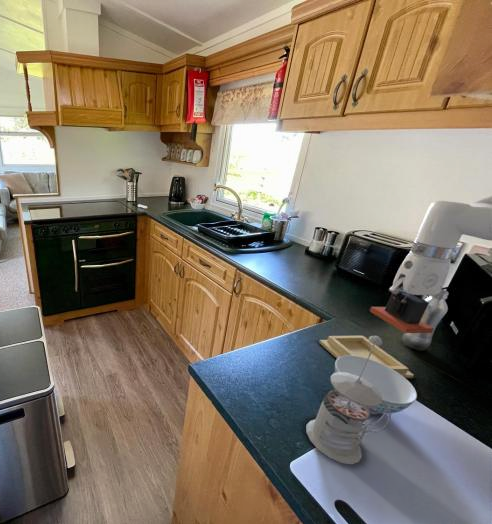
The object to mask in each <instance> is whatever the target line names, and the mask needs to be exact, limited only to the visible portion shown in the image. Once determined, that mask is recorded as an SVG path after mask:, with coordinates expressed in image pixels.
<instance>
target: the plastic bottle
mask: <svg viewBox="0 0 492 524" xmlns="http://www.w3.org/2000/svg"><path fill="white" fill-rule="evenodd" d="M448 296H449V292H448V290H444V289H443V288H442V289H441V291H440V293H438V294H436V295H431V296H430V297H428V298H427V299H426V300H425V301H427V302H429V304H428V306H427V308H426V310H425V312H424V314H423V316H422V318H421V320H420V321H421V322H423V323H425V324H427V325H429V326H431V327H432V328H434V329H433V331H432V333H404V332H403V335H402V339H401V340H402V343H403V344H404V345H405V346H406V347H408V348H411V349H413V350H415V351H421V352H422V351H425V350H427V349H429V348H430V347H431V344H432V340H433V339H432V338H433V337H434V334H435V331H436V328H437V326H438V325H439V323H440V322H441V321H442V319H443V318H444V317H445V315H446V314H447V312H448V310H449V308H448V304H447V302H446V300H447V299H448Z"/></svg>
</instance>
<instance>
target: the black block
mask: <svg viewBox="0 0 492 524" xmlns="http://www.w3.org/2000/svg"><path fill="white" fill-rule="evenodd" d="M402 294H403V296H404V295H405V293H403V292H402ZM393 297H394V296H393V294H392V293H391V294H390V297H389V299H388V301H387V304H386V306H370V309H369V312H370V313H371V314H373V315H375V316H377V317H378V318H380V319H381V320H383V321H384V322H386V323H387V324H389V325H391V326H393V327H395V328H396V329H398V330H399V331H401V332H402V333H403V334H404V333H432V331H433V329H434V328H432V327H431V326H429V325H427V324H425V323H423V322H421V321H420V320H421V318H422V316H423V314H424V312H425V310H426V308H427V306H428V304H429V302H427V301H425V300H423V299H420V298H418V297H416V296H414V295H411V296H410V297H409V299H408V301H407V302H406V303H407V304H408V305H407V307H406V309H405V311H404V314H403V316H398V315H396V314H394V313H392V312H391V311H390V309H391V306H392V304H393V302H394V300H395V299H394V298H393Z"/></svg>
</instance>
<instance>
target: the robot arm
mask: <svg viewBox="0 0 492 524" xmlns="http://www.w3.org/2000/svg"><path fill="white" fill-rule="evenodd" d="M463 235H464V236H470V237H473V238H477V239H481V240H485V241H492V195H490V196H488V197H484V198H482V199H478V200H476V201H474V202H471V203H463V202H458V201H457V202H456V201H448V200H435V201H433V202H432V203H431V204H430V205H429V206H428V208H427V211H426V213H425V216H424V218H423V220H422V222H421V224H420V227H419V229H418V232H417V233H416V236H415V239H414V241H413V243H412V246H411V248H410V251H409V253H408V254H407V255H406V256H405V258H404V260H403V261H402V263H401V264H400V266H399V268H398V270H397V272H396V273H395V277H394V278H393V282H392V286H390V287H389V288H388V292H389V293H391V294H393V296H394V297H393V298H394V299H395V300H394V302H393V304H392V306H391V309H390V311H391V312H392V313H394V314H396V315H398V316H403V314H404V311H405V309H406V307H407V305H408V304H407V303H406V302H407V301H408V299H409V297H410V296H411V295H414V296H416V297H418V298H420V299H423V300H426V299H427V298H428V297H430V296H431V295H436V294H438V293H440V291H441V289H442V290H443V286H444V284H445V283H446V280H447V277H448V274H449V272H450V267H451V262H452V259H451V258H452V256H453V254H454V252H455V250H456V248H457V247H458V244H459V242H460V240H461V237H462V236H463ZM402 292H403V293H405V295H404V296H403V294H402Z"/></svg>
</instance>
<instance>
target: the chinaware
mask: <svg viewBox="0 0 492 524" xmlns="http://www.w3.org/2000/svg"><path fill="white" fill-rule="evenodd" d="M366 360H367V358H364V357H359V356H352V355H346V356H341V357H339V358H338V359H337V358H336V360H335V361H334V362H335V363H334V373H337V372H346V373H350V374H353V375H356V376H359V377H360V374H361V372H362V370H363V367H364V365H365V363H366ZM361 377H362V378H363V379H365V380H366V381H367V382H369V383H370V384H372V385H373V386H374V387H375V388H376V389H377V390H378V391H379V392H380V393H381V396H382V400H383V401H384V403H385V405H386V407H387V408H388V409H389V411H390V414H395V413H399V412H402V411H405V410H406V409H407V408H408V407H410V406H412V405H413V404H414V403H415V402H416V400H417V398H418V393H417V391H416V389H415V387H414V386H413V384H412V383H411V382H410V381H409V380H408V378H404V377H403V376H402V375H400V374H399V373H397V372H396V371H394V370H393V369H391V368H389V367H387V366H385V365H383V364H381V363H379V362H376V361H374V360H371V359H368V362H367V364H366V366H365V369H364V371H363V373H362V376H361ZM381 403H382V404H383V402H382V401H381ZM367 407H368V408H369V409H370V412H371V415H377V414H383V413H384V411H385V407H384V406H383V405H381V404H379V405H378V406H377V407H375V406H372V407H370V406H367ZM387 414H388V415H389V413H388V410H387V409H386V413H385V415H387Z"/></svg>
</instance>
